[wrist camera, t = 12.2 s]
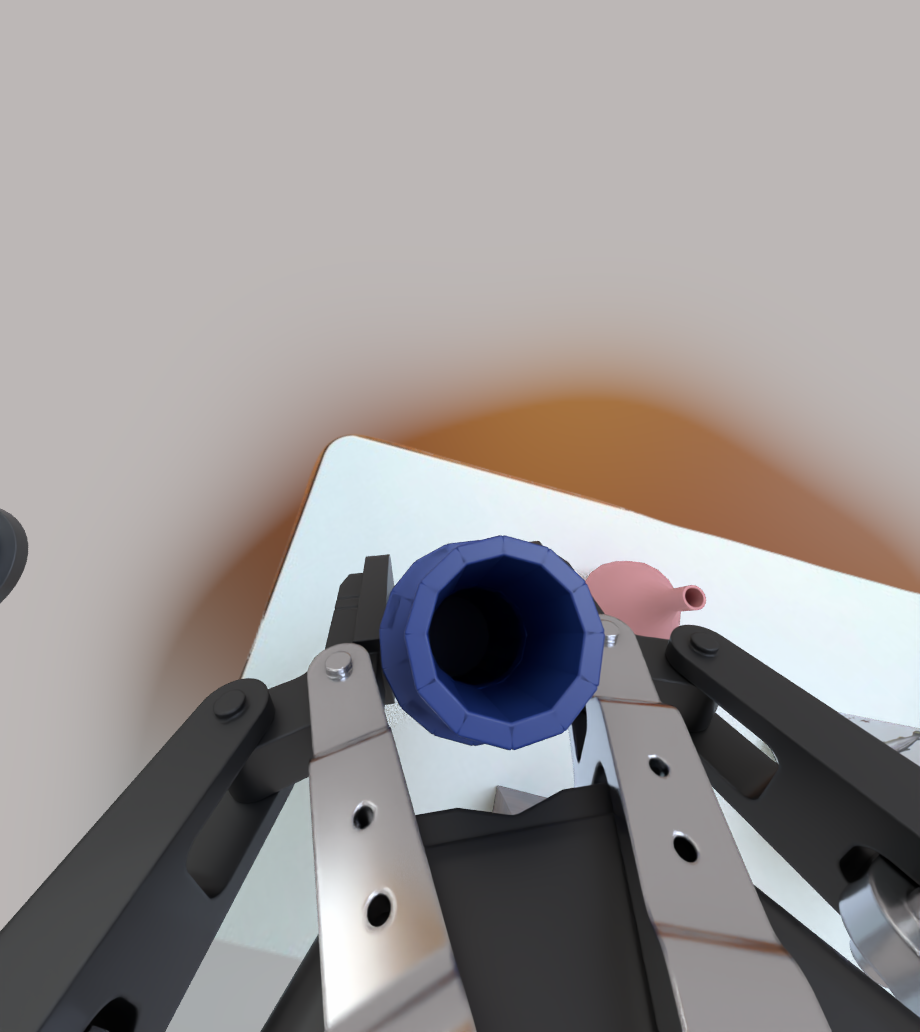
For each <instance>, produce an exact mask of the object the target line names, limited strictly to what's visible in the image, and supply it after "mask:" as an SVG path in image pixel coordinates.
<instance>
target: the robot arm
mask: <svg viewBox="0 0 920 1032" xmlns="http://www.w3.org/2000/svg"><path fill="white" fill-rule="evenodd" d="M531 543H534V544H538V545H542V544H541V543H540V542H539V541H533V542H531ZM559 557H560V556H559ZM560 558H561V557H560ZM561 559H562V558H561ZM562 560H563V561H564V562H565V563H566V564H567V565H568V566H570V567H571V565H570V564H569V563H568V562H567V561H565V560H564V559H562ZM571 568H572V567H571ZM572 569H573V568H572ZM573 570H574V569H573ZM393 588H394V581H393V573H392V566H391V558H390V555H378V556H368V557H366V558H365V564H364V571H363V573H357V574H349V576H348V577H347V578H346V579H345V580H344V581H343V583H342V584H341V585H340V588H339V592H338V596H337V601H336V605H335V610H334V613H333V617H332V622H331V626H330V630H329V634H328V638H327V643H326V647H325V650H324V651H322V652H321V653H320V654H318V655H317V656H316V657H315V658H314V659H313V661H312V662H311V664H310V666H309V668H308V672H306V673H305V674H303V675H302V676H300V677H298V678H296V679H293V680H291V681H288V682H286V683H283V684H281V685H278V686H276V687H273V688H270V689H267V687H266V685H265V684H264V683H263V682H262V681H260V680H257V679H250V678H248V679H240V680H236V681H233V682H230V683H228V684H226V685H224V686H222V687H220V688H218V689H217V690H216V691H214V692H213V693H211V694H210V695H209V696H208V697H207V698H206V699H205V700H204V701H203V702H202V703H201V704H200V705H199V706H198V707H197V709H196V710H195V711H194V712H193V713H192V714H191V716H190V717H189V718H188V719H187V720H186V721H185V722H184V723H183V725H182V726H181V727H180V728H179V729H178V730H177V731H176V732H175V734H174V735H173V736H172V737H171V738H170V739H169V740H168V742H167V743H166V744H165V745H164V746H163V747H162V749H161V750H160V751H159V752H158V753H157V754H156V755H155V756H154V757H153V759H152V760H151V761H150V762H149V763H148V764H147V765H146V767H145V768H144V769H143V770H142V771H141V772H140V773H139V775H138V776H137V777H136V778H135V779H134V780H133V781H132V782H131V784H130V785H129V786H128V787H127V788H126V789H125V791H124V792H123V793H122V794H121V795H120V796H119V797H118V798H117V800H116V801H115V802H114V803H113V804H112V805H111V806H110V807H109V809H108V810H107V811H106V812H105V813H104V814H103V816H102V817H101V818H100V819H99V820H98V821H97V822H96V823H95V824H94V826H93V827H92V828H91V829H90V830H89V831H88V833H87V834H86V835H85V836H84V837H83V838H82V839H81V841H80V842H79V843H78V844H77V845H76V846H75V847H74V848H73V849H72V851H71V852H70V853H69V854H68V855H67V856H66V857H65V859H64V860H63V861H62V862H61V863H60V864H59V865H58V867H57V868H56V869H55V870H54V871H53V872H52V873H51V875H50V876H49V877H48V878H47V879H46V880H45V881H44V883H43V884H42V885H41V886H40V887H39V888H38V889H37V891H36V892H35V893H34V894H33V895H32V896H31V897H30V898H29V899H28V901H27V902H26V903H25V904H24V905H23V906H22V907H21V909H20V910H19V911H18V912H17V913H16V914H15V915H14V917H13V918H12V919H11V920H10V921H9V922H8V923H7V925H6V926H5V927H4V928H3V929H2V930H1V931H0V1032H165V1031H166V1029H167V1027H168V1025H169V1023H170V1021H171V1019H172V1017H173V1016H174V1014H175V1012H176V1010H177V1008H178V1006H179V1004H180V1002H181V1000H182V998H183V997H184V995H185V993H186V990H187V989H188V987H189V985H190V983H191V981H192V979H193V977H194V975H195V973H196V972H197V970H198V968H199V966H200V964H201V962H202V960H203V958H204V956H205V955H206V953H207V951H208V949H209V947H210V945H211V943H212V941H213V939H214V937H215V935H216V934H217V932H218V930H219V928H220V926H221V924H222V922H223V920H224V918H225V916H226V914H227V913H228V911H229V909H230V907H231V905H232V903H233V901H234V899H235V897H236V895H237V893H238V891H239V890H240V888H241V886H242V884H243V882H244V880H245V878H246V876H247V874H248V872H249V870H250V869H251V867H252V865H253V863H254V861H255V859H256V857H257V855H258V853H259V851H260V849H261V848H262V846H263V844H264V842H265V840H266V838H267V836H268V834H269V832H270V830H271V828H272V827H273V825H274V823H275V821H276V819H277V817H278V815H279V813H280V811H281V809H282V807H283V806H284V804H285V802H286V800H287V798H288V796H289V794H290V792H291V790H292V788H293V786H294V784H295V783H297V782H299V781H301V780H303V779H305V778H307V777H309V786H310V802H311V818H312V834H313V850H314V866H315V882H316V898H317V914H318V930H319V934H318V936H317V937H316V939H315V941H314V942H313V944H312V946H311V947H310V949H309V951H308V952H307V954H306V956H305V957H304V959H303V961H302V963H301V964H300V966H299V968H298V969H297V971H296V973H295V974H294V976H293V978H292V980H291V981H290V983H289V985H288V986H287V988H286V990H285V991H284V993H283V995H282V997H281V998H280V1000H279V1002H278V1003H277V1005H276V1006H275V1008H274V1010H273V1012H272V1013H271V1015H270V1017H269V1018H268V1020H267V1022H266V1023H265V1025H264V1027H263V1028H262V1030H261V1032H920V766H919V765H917V764H916V763H914V762H913V761H911V760H909V759H908V758H906V757H905V756H903V755H902V754H900V753H899V752H897V751H896V750H894V749H893V748H891V747H890V746H888V745H887V744H885V743H884V742H882V741H881V740H879V739H878V738H876V737H875V736H873V735H872V734H870V733H868V732H867V731H865V730H864V729H862V728H861V727H859V726H858V725H856V724H855V723H853V722H852V721H850V720H849V719H847V718H846V717H844V716H843V715H841V714H840V713H838V712H837V711H835V710H834V709H832V708H831V707H829V706H827V705H826V704H824V703H823V702H821V701H820V700H818V699H817V698H815V697H814V696H812V695H811V694H809V693H808V692H806V691H805V690H803V689H802V688H800V687H799V686H797V685H796V684H794V683H793V682H791V681H790V680H788V679H787V678H785V677H783V676H782V675H780V674H779V673H777V672H776V671H774V670H773V669H771V668H770V667H768V666H767V665H765V664H764V663H762V662H761V661H759V660H758V659H756V658H755V657H753V656H752V655H750V654H749V653H747V652H746V651H744V650H742V649H741V648H739V647H738V646H736V645H735V644H733V643H732V642H730V641H729V640H727V639H726V638H724V637H723V636H721V635H719V634H718V633H716V632H714V631H712V630H709V629H707V628H704V627H700V626H695V625H682V626H679V627H676V628H675V629H674V630H673V631H672V633H671V635H670V639H662V638H654V637H647V636H641V635H636V634H634V632H633V631H632V629H631V628H630V627H629V626H628V625H627V624H626V623H624V622H623V621H621V620H620V619H618V618H615V617H613V616H610V615H606V614H604V612H603V611H602V609H601V608H600V606H599V605H598V604H597V602H596V601H595V599H594V598H593V596H592V598H593V601H594V603H595V606H596V609H597V611H598V614H599V617H600V620H601V622H602V625H603V628H604V631H605V632H604V634H605V640H604V649H603V657H602V665H601V673H600V681H599V686H598V687H597V688H598V689H597V691H596V692H595V693H594V695H593V696H592V697H591V699H590V700H589V701H588V703H587V704H586V705H585V707H584V708H583V709H582V711H581V712H580V713H579V715H578V716H577V717H576V718H575V720H574V721H573V722H572V724H571V725H570V726H569V728H568V730H569V738H570V746H571V753H572V761H573V769H574V788H570V789H564V790H561V791H559V792H558V793H556V794H554V795H552V796H550V797H548V798H546V799H545V800H543V801H541V802H539V803H537V804H535V805H533V806H532V807H530V808H528V809H526V810H524V811H522V812H521V813H518V814H515V815H507V814H499V813H492V812H484V811H477V810H469V809H462V808H454V809H448V810H442V811H437V812H431V813H425V814H419V815H415V813H414V810H413V806H412V802H411V799H410V795H409V791H408V788H407V784H406V781H405V777H404V773H403V770H402V766H401V762H400V759H399V755H398V752H397V748H396V744H395V741H394V737H393V734H392V731H391V728H390V726H389V725H388V722H387V719H386V715H385V711H384V710H385V705H387V704H394V703H395V695H394V693H393V691H392V689H391V687H390V685H389V683H388V681H387V679H386V677H385V675H384V673H383V669H382V663H381V649H380V635H379V629H380V624H381V621H382V617H383V614H384V611H385V608H386V605H387V602H388V598H389V595H390V592H391V591H392V589H393ZM718 705H719V706H721V707H722V708H723V709H724V710H725V711H727V712H728V713H729V714H730V715H732V716H733V717H734V718H735V719H737V720H738V721H739V722H740V723H741V724H743V725H744V726H745V727H746V728H748V729H749V730H750V731H751V732H753V733H754V734H755V735H756V736H757V737H759V738H760V739H761V740H762V741H764V742H765V743H766V744H767V745H768V746H769V747H770V748H771V749H772V751H773V752H774V754H775V755H776V757H777V760H778V763H779V764H777V763H776V762H774V761H773V760H771V759H770V758H769V757H768V756H767V755H765V754H764V753H763V752H762V751H761V750H759V749H758V748H757V747H756V746H755V745H753V744H752V743H751V742H750V741H749V740H748V739H746V738H745V737H744V736H743V735H742V734H740V733H739V732H738V731H737V730H736V729H734V728H733V727H732V726H731V725H730V724H728V723H727V722H726V721H725V720H724V719H722V718H721V717H720V716H719V715H718V714H716V713H715V712H716V710H717V707H718ZM712 787H713V788H714V789H715V790H716V791H717V792H718V793H719V794H720V795H721V796H722V797H723V798H724V799H725V800H726V801H727V802H728V803H729V804H730V805H731V806H732V807H733V808H734V809H735V810H736V811H737V812H738V813H739V814H740V815H741V816H742V817H743V818H744V819H745V820H746V821H747V822H748V823H749V824H750V825H751V826H752V827H753V828H754V829H755V830H756V831H757V832H758V833H759V834H760V835H761V836H762V837H763V838H764V839H765V840H766V841H767V842H768V843H769V844H770V845H771V846H772V847H773V848H774V849H775V850H776V851H777V852H778V853H779V854H780V855H781V856H782V857H783V858H784V859H785V860H786V861H787V862H788V863H789V864H790V865H791V866H792V867H793V868H794V869H795V870H796V871H797V872H798V873H799V874H800V875H801V876H802V877H803V878H804V879H805V880H806V881H807V882H808V883H809V884H810V885H811V886H812V887H813V888H814V889H815V890H816V891H817V892H818V893H819V894H820V895H821V896H822V897H823V898H824V899H825V900H826V901H827V902H828V903H829V904H830V905H831V906H832V907H833V908H834V909H835V910H836V911H837V912H838V913H839V914H840V915H841V918H842V921H843V923H844V926H845V928H846V930H847V932H848V934H849V936H850V938H851V939H850V950H851V952H852V955H853V957H854V959H855V960H856V962H857V964H858V965H859V966H860V968H861V969H862V970H863V971H864V972H865V973H866V974H867V975H868V976H867V975H866V974H865V973H864V972H862V971H861V970H860V969H859V968H857V967H856V966H855V965H854V964H852V963H851V962H850V961H849V960H847V959H846V958H845V957H843V956H842V955H841V954H840V953H838V952H837V951H836V950H835V949H833V948H832V947H831V946H830V945H828V944H827V943H826V942H825V941H823V940H822V939H821V938H820V937H818V936H817V935H816V934H815V933H813V932H812V931H811V930H810V929H808V928H807V927H806V926H805V925H803V924H802V923H801V922H800V921H798V920H797V919H796V918H795V917H793V916H792V915H791V914H790V913H788V912H787V911H786V910H785V909H783V908H782V907H781V906H780V905H778V904H777V903H776V902H775V901H773V900H772V899H771V898H770V897H768V896H767V895H766V894H765V893H763V892H762V891H761V890H760V889H758V888H757V887H756V886H755V885H753V883H752V880H751V878H750V876H749V873H748V871H747V869H746V866H745V864H744V862H743V859H742V857H741V854H740V852H739V850H738V847H737V845H736V843H735V840H734V838H733V836H732V833H731V831H730V829H729V826H728V824H727V821H726V819H725V817H724V814H723V812H722V810H721V807H720V805H719V803H718V800H717V798H716V796H715V793H714V791H713V788H712ZM877 983H878V984H877ZM880 985H881V986H883V987H885V988H889V989H890V990H891V992H892V993H893V995H894V996H895V997H894V996H892V995H891V994H890V993H889V992H887V991H886V990H885V989H884V988H882V987H881V986H880Z"/></svg>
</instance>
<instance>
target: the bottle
mask: <svg viewBox="0 0 920 1032" xmlns="http://www.w3.org/2000/svg"><path fill="white" fill-rule="evenodd" d="M604 632H605V631H604V628H603V625H602V622H601V620H600V617H599V614H598V611H597V609H596V606H595V603H594V601H593V598H592V595H591V593H590V590H589V587H588V585H587V584H586V582H585V580H583V579H582V578H581V577H580V576H579V575H578V574H577V573H576V572H575V571H574V570H573V569H572V568H571V567H570V566H568V565H567V564H566V563H565V562H564V561H563V560H562V559H561V558H560V557H559V556H558V555H557V554H556V553H555V552H553V551H552V550H551V549H549V548H548V547H545V546H542V545H538V544H534V543H531V542H527V541H523V540H520V539H516V538H512V537H509V536H500V535H499V536H495V537H491V538H487V539H483V540H476V541H467V542H459V543H450V544H447V545H444V546H442V547H440V548H438V549H436V550H434V551H433V552H431V553H429V554H427V555H425V556H424V557H422V558H420V559H418V560H416V562H414V563H413V564H412V565H411V567H410V568H409V569H408V570H407V572H406V573H405V574H404V575H403V576H402V578H401V579H400V580H399V581H398V583H397V584H396V585H395V586H394V588H393V589H392V591H391V592H390V595H389V598H388V602H387V605H386V608H385V611H384V614H383V617H382V621H381V624H380V629H379V635H380V649H381V663H382V669H383V673H384V675H385V677H386V679H387V681H388V683H389V685H390V687H391V689H392V691H393V693H394V695H395V697H396V699H397V701H398V703H399V705H400V707H402V709H403V710H404V711H405V712H406V713H407V714H408V715H410V716H411V717H412V718H413V719H414V720H416V721H417V722H418V723H419V724H420V725H421V726H423V727H424V728H425V729H426V730H427V731H429V732H430V733H431V734H434V735H435V736H438V737H441V738H445V739H448V740H452V741H456V742H459V743H463V744H467V745H470V746H472V745H474V746H477V745H482V744H488V745H492V746H495V747H499V748H503V749H506V750H511V749H512V750H516V749H519V748H522V747H525V746H528V745H531V744H533V743H536V742H539V741H542V740H545V739H548V738H551V737H553V736H556V735H559V734H562V733H563V732H564V731H566V730H567V729H568V728H569V726H570V725H571V724H572V722H573V721H574V720H575V718H576V717H577V716H578V715H579V713H580V712H581V711H582V709H583V708H584V707H585V705H586V704H587V703H588V701H589V700H590V699H591V697H592V696H593V695H594V693H595V692H596V691H597V689H598V688H597V687H598V686H599V681H600V673H601V665H602V657H603V649H604V640H605V634H604Z"/></svg>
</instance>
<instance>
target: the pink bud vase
mask: <svg viewBox="0 0 920 1032" xmlns="http://www.w3.org/2000/svg"><path fill="white" fill-rule="evenodd" d="M585 582H586V584H587V585H588V587H589V590H590V593H591V595H592V596H593V598H594V599H595V601H596V602H597V604H598V605H599V606H600V608H601V609H602V611H603V612H604V614H606V615H610V616H613V617H615V618H618V619H620V620H621V621H623V622H624V623H626V624H627V625H628V626H629V627H630V628H631V629H632V631H633V632H634V634H636V635H641V636H647V637H654V638H662V639H670V635H671V633H672V631H673V630H674V629H675V628H676V627H679V625H680V614H681V611H692V610H700V609H702V608H703V607H704V606H705V604H706V597H705V594H704V592H703V591H702V590H701V589H700V588H699V587H697V586H694V585H689V586H684V587H679V588H673V586H672V585H671V583H670V581H669V580H668V579H667V578H666V577H665V576H664V575H663V574H662V573H661V572H660V571H658V570H657V569H655V568H653V567H651V566H649V565H647V564H645V563H640V562H632V561H615V562H611V563H607V564H603V565H601V566H600V567H598V568H597V569H595V570H594V571H593V572H591V573H590V575H589V576H588V578H587V580H586V581H585Z"/></svg>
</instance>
